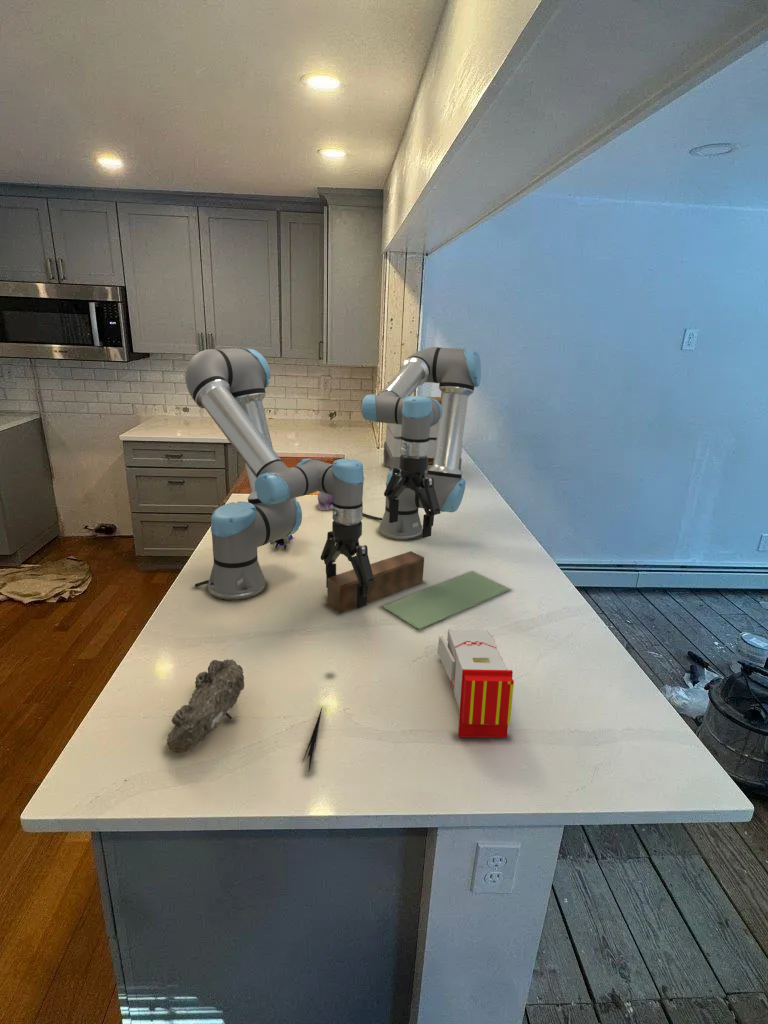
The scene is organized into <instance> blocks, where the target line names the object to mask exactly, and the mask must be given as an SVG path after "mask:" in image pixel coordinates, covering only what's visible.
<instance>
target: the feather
mask: <svg viewBox="0 0 768 1024" xmlns="http://www.w3.org/2000/svg"><path fill="white" fill-rule="evenodd" d="M329 675H330V676H331V675H332V674H331V673H330V674H329ZM322 710H323V707H321V708H320V710H319V713H318V716H317V719H316V723H315V725H314V728H313V731H312V733H311V737H310V739H309V742H308V745H307V748H306V751H305V754H304V757H303V760H302V763H301V767H302V765H303V763H304V761H305V758H308V759H309V760H308V762H307V763H308V764H307V766H308V771H310V770H311V766H312V765H311V764H312V760H313V757H315V756H314V755H315V751H316V749H315V746H317V739H318V733H319V729H320V722H321V717H322V712H323V711H322ZM313 754H314V755H313ZM306 755H307V757H306Z"/></svg>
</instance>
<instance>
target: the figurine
mask: <svg viewBox="0 0 768 1024" xmlns="http://www.w3.org/2000/svg"><path fill="white" fill-rule="evenodd" d="M317 502H318V503H317V508H318V510H321V511H328V510H329V511H330V510H333V495H331V494H327V493H324V492H319V491H318V493H317Z"/></svg>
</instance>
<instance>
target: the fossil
mask: <svg viewBox="0 0 768 1024" xmlns="http://www.w3.org/2000/svg"><path fill="white" fill-rule="evenodd" d="M243 670H244V669H243V667H242V665H240V664H237V662H236V661H235V660H234V659H232V658H231V659H227V658H226V659H224V660H223V661H222V660H217V659H212V660H211V661H210V663H209V665H208V666H207V671H201V672H199V673H198V674H197V675H196V676H195V680H194V684H195V685H194V687H195V689H194V690H193V693H192V694H191V697H190V698H189V700H188V704H184V705H182V706H181V707H180V709H177V710H176V711H175V713H174V715H173V716H172V718H171V723H172V724H173V727H172V730H171V731H170V732H168V734H167V738H166V741H167V742H166V745H167V749H168V750H169V751H173V752H174V753H176V754H178V753H182V752H188V751H189V752H192V751H193V750H195V748H196V747H197V746H199V744H200V743H201V742H203V741H204V740H205V739H206V738H207V737H208V736H209V735H210V734H211V733H212V732H214V730H215V729H217V727H218V726H219V724H220V722H221V721H222V720H223V719H224V718H225V716H226V717H227V719H229V720H233V717H232V715H230V714H229V710H230V709H231V708H234V706H235V704H236V703H237V702H238V699H239V697H240V695H241V693H242V691H243V690H245V689H244V688H245V675H244V671H243Z"/></svg>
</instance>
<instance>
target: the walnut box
mask: <svg viewBox="0 0 768 1024" xmlns="http://www.w3.org/2000/svg"><path fill="white" fill-rule="evenodd" d="M370 565H371V569H372V573H373V577H374V581H375V583H374V584H371V585H368V596H367V604H369V603H371V602H374V601H377V600H379V599H382V598H385V597H388V596H390V595H394V594H396V593H398V592H400V591H403V590H406V589H409V588H411V587H414V586H417V585H420V584H422V583H423V581H424V570H425V569H424V568H425V557H424V556H422V555H421V554H419V553H417V552H414V551H412V550H410V551H406V552H403V553H401V554H398V555H394V556H391V557H388V558H386V559H382V560H379V561H375V562H372V563H370ZM327 580H328V581H327V588H326V605H327V606H328V607H329V608H331V609H332V610H334V611H335V612H337V613H338V614H342V613H345V612H347V611H350V610H353V609H356V608H357V584H359V581H358V578H357V576H356V574H355V571H354V569H351V570H347V571H344V572H341V573H338V574H336V575H335V576H332V577H329V578H327Z"/></svg>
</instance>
